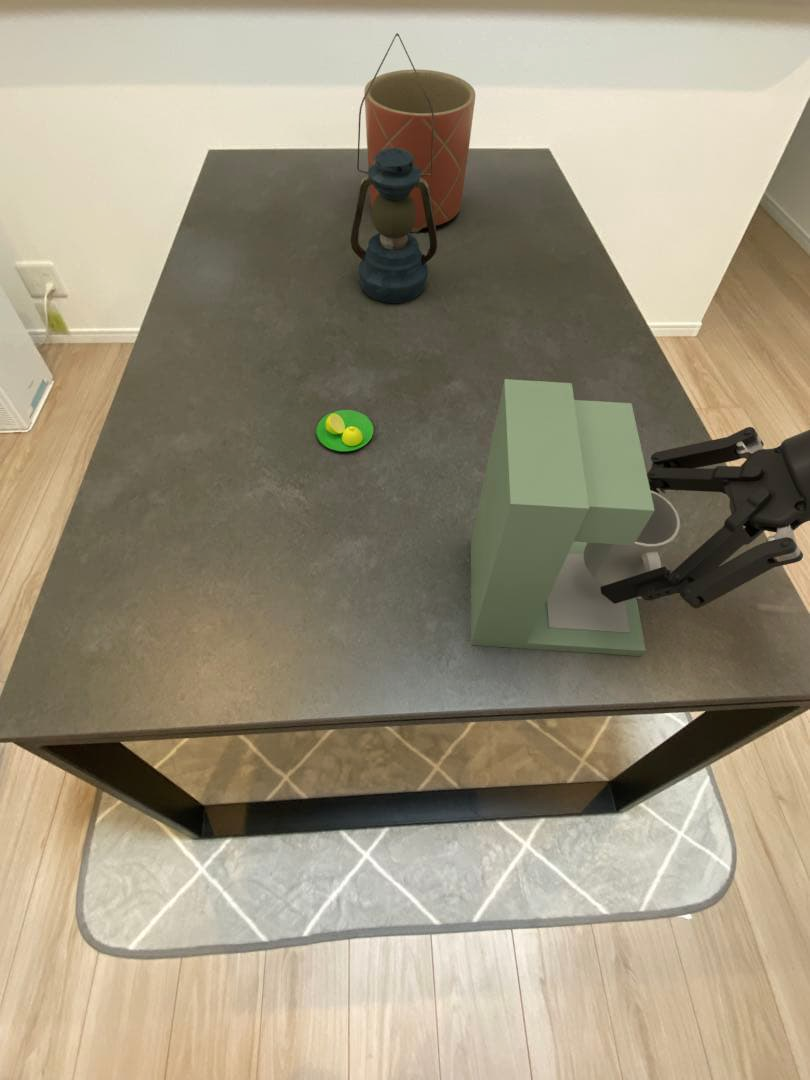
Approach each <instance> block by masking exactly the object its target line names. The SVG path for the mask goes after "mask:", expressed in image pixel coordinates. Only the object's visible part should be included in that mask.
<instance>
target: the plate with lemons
mask: <svg viewBox="0 0 810 1080" xmlns="http://www.w3.org/2000/svg"><path fill="white" fill-rule="evenodd" d="M315 431H316V437H317V440H318V441H319V442H320V443H321V444H322V445H323V446H324V447H326V448H328V449H330V450H333V451H337V452H352V451H356V450H359V449H361V448H362V447H364V446H366V445H367V444H368V443H369V442H370V441H371V440H372V438H373V435H374V425H373V423H372V421H371V420H370V418H369V417H368V416H367V415H365V414H364V413H362V412H359V411H356V410H351V409H340V410H336V411H332V412H330V413H328V414H327V415H325V416H324V417H322V418H321V419H320V420H319V422H318V424H317V426H316V429H315Z"/></svg>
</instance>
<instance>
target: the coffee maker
mask: <svg viewBox="0 0 810 1080" xmlns="http://www.w3.org/2000/svg"><path fill="white" fill-rule="evenodd" d="M644 459H645V458H644V455H643V449H642V445H641V441H640V436H639V431H638V427H637V423H636V418H635V413H634V408H633V403H631V402H615V401H599V400H598V401H597V400H583V399H575V395H574V390H573V383H572V382H559V381H543V380H542V381H541V380H525V379H524V380H523V379H509V378H504V380H503V385H502V390H501V394H500V399H499V403H498V408H497V413H496V419H495V423H494V428H493V434H492V438H491V442H490V447H489V452H488V457H487V462H486V467H485V471H484V475H483V476H484V477H483V481H482V486H481V491H480V494H479V500H478V505H477V509H476V514H475V520H474V524H473V529H472V534H471V539H470V646H483V647H498V648H510V649H511V648H513V649H526V650H527V649H529V650H540V651H541V650H543V651H555V652H556V651H557V652H559V651H560V652H573V653H574V652H575V653H589V654H601V655H602V654H603V655H618V656H633V657H642V656H643V655H644V654H645V652H646V645H645V639H644V634H643V627H642V621H641V616H640V610H639V605H638V598H633V599H629V600H626V601H623V602H619V603H616V604H614V603H613V602H611V601H610V600H609V599H608V598H606V597H605V596H604V595H602V594H601V588H600V587H602V586H605V585H604V584H602V583H600V582H599V581H598V580H596V579H595V578H594V577H593V576H592V575H591V573H590V572H589V571H588V569H587V567H586V565H585V562H584V550H585V547H586V545H587V543H604V544H620V545H634V543H635V542H636V540H637V538H638V537H639V535H640V533H641V532H642V530H643V529H644V527H645V525H646V524H647V522H648V520H649V519H650V517H651V516H652V514H653V512H654V511H655V509H654V505H653V500H652V496H651V491H650V486H649V482H648V477H647V473H648V472H647V468H646V464H645V463H646V462H645V460H644Z"/></svg>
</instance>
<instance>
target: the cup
mask: <svg viewBox="0 0 810 1080" xmlns="http://www.w3.org/2000/svg"><path fill="white" fill-rule="evenodd" d="M650 491H651V490H650ZM651 496H652V500H653V505H654V509H655V511H654V512H653V514H652V516H651V517H650V519H649V520H648V522H647V524H646V525H645V527H644V529H643V530H642V532H641V533H640V535H639V537H638V538H637V540H636V542H635V543H634V545H620V544H604V543H587V545H586V547H585V550H584V562H585V565H586V567H587V569H588V571H589V572H590V573H591V575H592V576H593V577H594V578H595V579H596V580H598V581H599V582H600V583H602V584H604V585H608V584H611V583H614V582H617V581H620V580H623V579H627V578H630V577H633V576H636V575H639V574H642V573H645V572H648V571H651V570H655V569H658V568H661V567H662V562H661V558H662V556H663V555H664V553H665V552H666V551H667V550H668V548H669V546H670V545H671V544H672V542H673V541H674V540H675V538H676V536H678V533H679V530H680V528H681V520H680V516H679V514H678V511H677V509H676V508H675V507H674V504H672V503H671V501H669V500H668V499H667V498H666V497H664V496H663V495H661V494H660V493H659V494H658V493H656V492H654V491H651ZM636 599H637V600H638V599H639V600H644V599H643V598H642V597H640V596H639V597H636Z"/></svg>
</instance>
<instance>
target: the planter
mask: <svg viewBox="0 0 810 1080" xmlns="http://www.w3.org/2000/svg"><path fill="white" fill-rule="evenodd" d="M415 70H416V72H417V74H418V76H419V79H420V81H421V83H422V85H423V87H424V89H425V91H426V93H427V96H428V98H429V100H430V102H431V105H432V108H433V114H434V126H433V163H432V173H431V175H428V176H421V177H420V178H422V179H424V180H425V181H426V182H427V184H428V187H429V192H430V198H431V204H432V210H433V216H434V222H435V227H436V226H440V225H442V224H445V223H447V222H449V221H451V220H452V219H454V218H455V217H456V216H457V215H458V214H459V213H460V211H461V206H462V201H463V194H464V186H465V179H466V171H467V164H468V156H469V150H470V143H471V136H472V128H473V120H474V112H475V111H474V110H475V105H476V91H475V89H474V86H472V85H471V84H470V83H469V82H467V81H466V80H464V79H463V78H462V77H461V78H460V77H459V76H456V75H454V74H451V73H447V72H443V71H438V70H431V69H415ZM372 80H373V78H371V80H369V82H367V83H366V85H365V87H364V90H363V91H364V92H363V93H364V94H363V95H364V96H365V94H366V92H367V90H368V88H369V86H370V84H371V82H372ZM364 111H365V130H366V133H365V134H366V148H367V165H368V169H369V168H370V167H371V166H372V165H373V164H375V156H376V154H377V153H378V152H379V151H381V150H384V149H388V148H400V149H403V150H407V151H408V152H410V153H411V154H412V155H413V157H414V165H416V166H417V167H418V168H419V169H420V172H421V175H424V174H430V172H431V157H432V112H431V107H430V104H429V102H428V100H427V97H426V95H425V93H424V91H423V89H422V87H421V84H420V82H419V80H418V78H417V76H416V74H415V71H414V69H400V70H394V71H390V72H386V73H383V74H380V75H378V76H376V78H375V80H374V82H373V84H372V86H371V88H370V90H369V92H368V94H367V96H366V98H365V100H364ZM378 195H379V192H378V190H377V189H376V188H375V187H374V186H373V184H371V185H370V186H369V198H370V205H371V206H370V207H371V208H372V207H373V203H374V200H375V198H376V197H377V196H378ZM409 195H410V197H411V198H412V199H413V200H414V204H415V209H416V219H415V224H414V227H413V229H412V230H411V231H410V232H409V233H414V234H415V233H419V231H421V230H423V229H426V228H428V227H427V222H426V216H425V211H424V205H423V200H422V194H421V191H420V189H419V188H418V187H415V188H414V189H413V190H411V192H410V194H409Z"/></svg>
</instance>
